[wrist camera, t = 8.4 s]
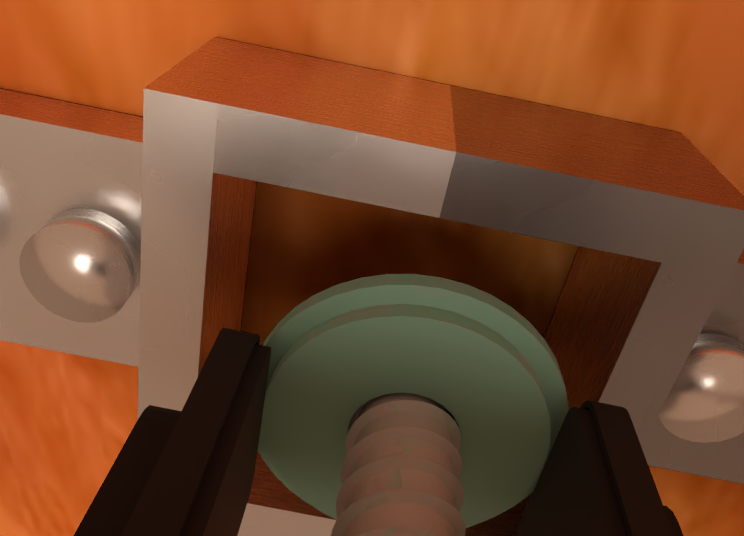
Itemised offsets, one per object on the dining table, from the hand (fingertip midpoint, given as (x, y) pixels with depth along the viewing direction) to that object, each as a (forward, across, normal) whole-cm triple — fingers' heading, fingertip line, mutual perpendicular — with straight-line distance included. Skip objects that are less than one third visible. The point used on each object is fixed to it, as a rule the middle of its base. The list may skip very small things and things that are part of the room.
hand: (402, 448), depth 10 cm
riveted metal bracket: (+5, 0, 0) cm, 5 cm away
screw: (+3, 0, 0) cm, 3 cm away
